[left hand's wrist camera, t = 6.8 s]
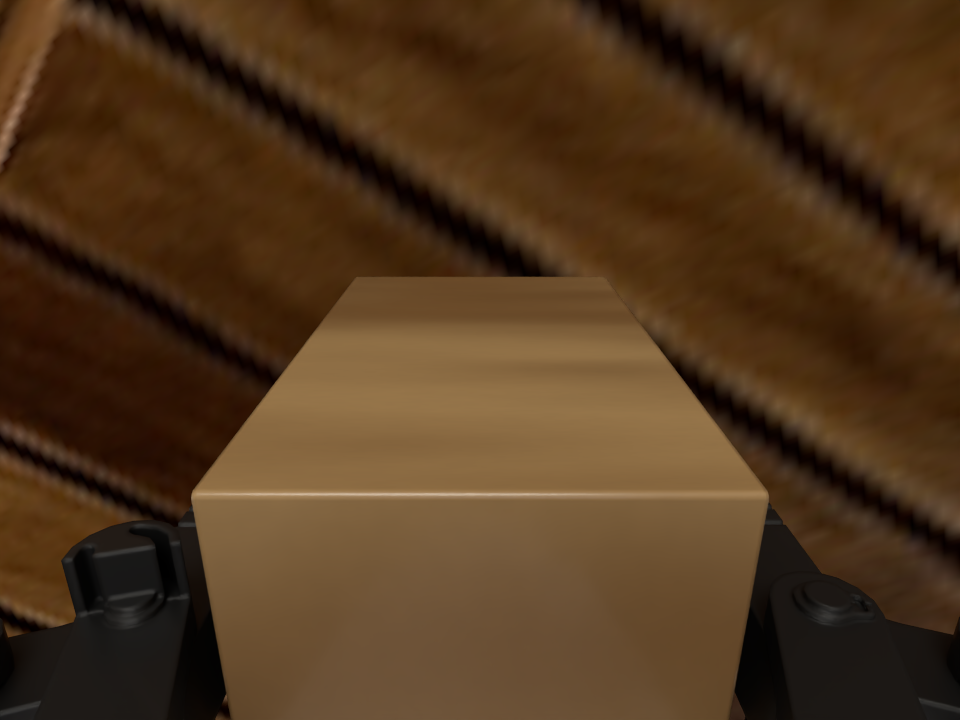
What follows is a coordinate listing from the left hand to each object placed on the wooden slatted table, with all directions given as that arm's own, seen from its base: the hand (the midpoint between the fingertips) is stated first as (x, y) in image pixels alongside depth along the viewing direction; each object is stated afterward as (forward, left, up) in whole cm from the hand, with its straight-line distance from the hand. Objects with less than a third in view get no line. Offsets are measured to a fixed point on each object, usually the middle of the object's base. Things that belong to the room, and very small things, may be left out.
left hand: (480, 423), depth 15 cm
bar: (-4, +7, 0) cm, 9 cm away
